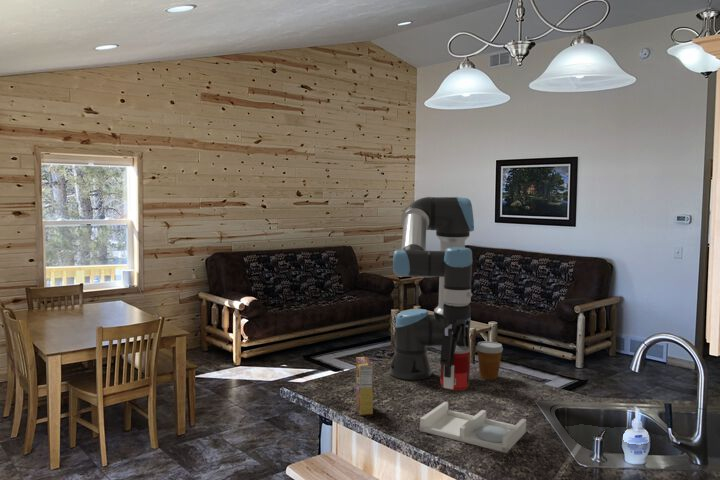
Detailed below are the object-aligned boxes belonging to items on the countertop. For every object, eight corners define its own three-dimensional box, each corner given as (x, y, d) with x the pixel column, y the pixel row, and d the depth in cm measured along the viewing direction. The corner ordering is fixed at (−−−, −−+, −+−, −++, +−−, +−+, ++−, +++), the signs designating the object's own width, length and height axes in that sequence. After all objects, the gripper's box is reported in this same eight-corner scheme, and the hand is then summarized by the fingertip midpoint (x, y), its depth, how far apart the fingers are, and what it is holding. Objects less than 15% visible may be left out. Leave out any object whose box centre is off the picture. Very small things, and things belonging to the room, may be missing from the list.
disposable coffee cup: (470, 377, 218) (471, 345, 217) (481, 371, 226) (482, 339, 225) (496, 382, 213) (497, 349, 212) (506, 376, 221) (507, 343, 220)
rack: (444, 416, 181) (444, 401, 181) (525, 435, 168) (526, 419, 168) (419, 434, 168) (420, 418, 167) (506, 456, 155) (507, 439, 154)
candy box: (354, 404, 190) (355, 356, 189) (368, 404, 190) (369, 356, 189) (358, 415, 181) (359, 365, 180) (373, 414, 182) (373, 364, 180)
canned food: (473, 389, 167) (475, 350, 166) (447, 391, 165) (448, 352, 164) (461, 381, 175) (462, 343, 174) (435, 383, 172) (436, 345, 171)
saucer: (483, 427, 171) (483, 422, 171) (514, 434, 166) (515, 430, 166) (471, 437, 163) (471, 433, 163) (503, 446, 158) (503, 441, 158)
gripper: (454, 311, 157) (452, 397, 159) (483, 299, 174) (481, 377, 176) (428, 307, 161) (426, 391, 163) (459, 296, 178) (457, 372, 180)
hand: (454, 383), depth 170 cm, fingers closed on canned food, 8 cm apart
